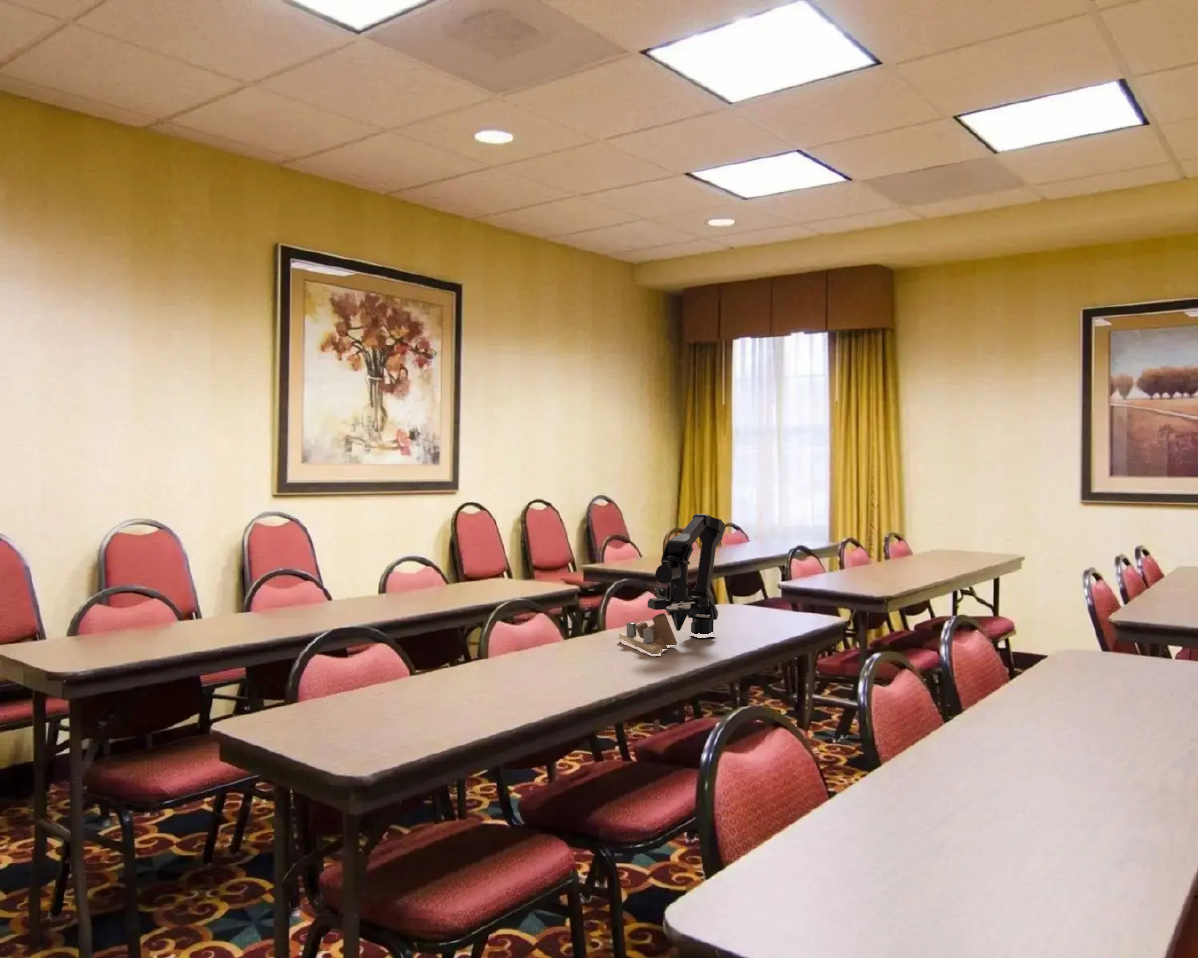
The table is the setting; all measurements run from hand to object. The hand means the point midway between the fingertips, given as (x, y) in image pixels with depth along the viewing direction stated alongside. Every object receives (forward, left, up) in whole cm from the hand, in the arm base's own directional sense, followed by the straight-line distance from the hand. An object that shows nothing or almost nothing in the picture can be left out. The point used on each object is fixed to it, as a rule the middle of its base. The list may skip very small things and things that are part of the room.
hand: (678, 630), depth 287 cm
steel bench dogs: (+13, 0, -5) cm, 14 cm away
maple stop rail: (+13, 0, -5) cm, 14 cm away
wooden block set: (+6, -1, -5) cm, 8 cm away
